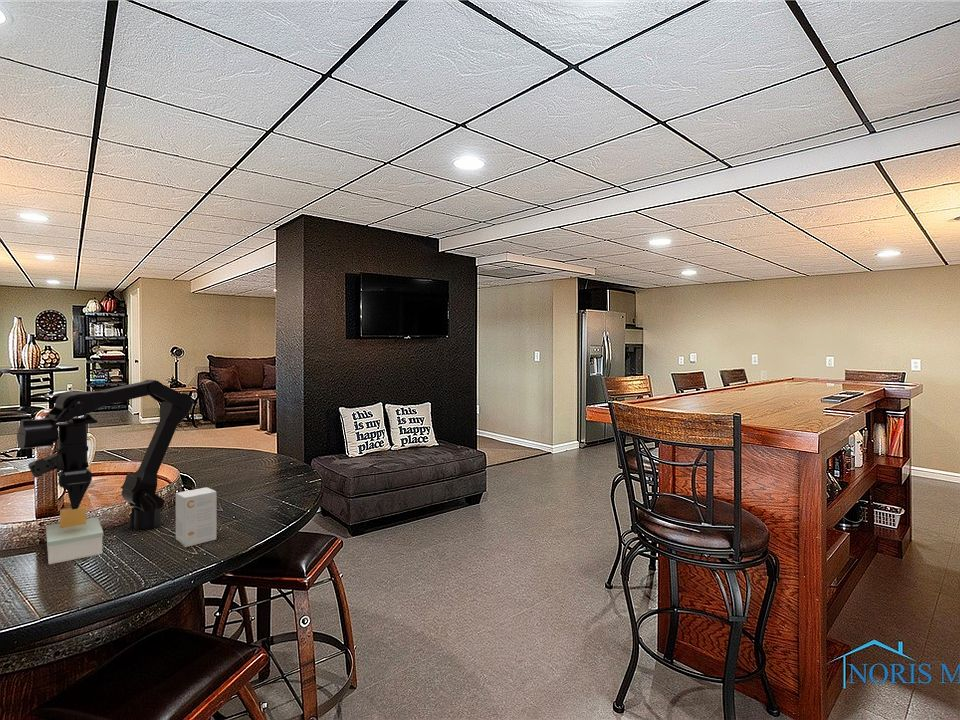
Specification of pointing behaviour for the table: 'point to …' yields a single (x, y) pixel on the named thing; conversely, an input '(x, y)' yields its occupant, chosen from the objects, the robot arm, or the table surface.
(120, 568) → the table surface
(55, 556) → the tub
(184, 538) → the small box
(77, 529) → the lid
